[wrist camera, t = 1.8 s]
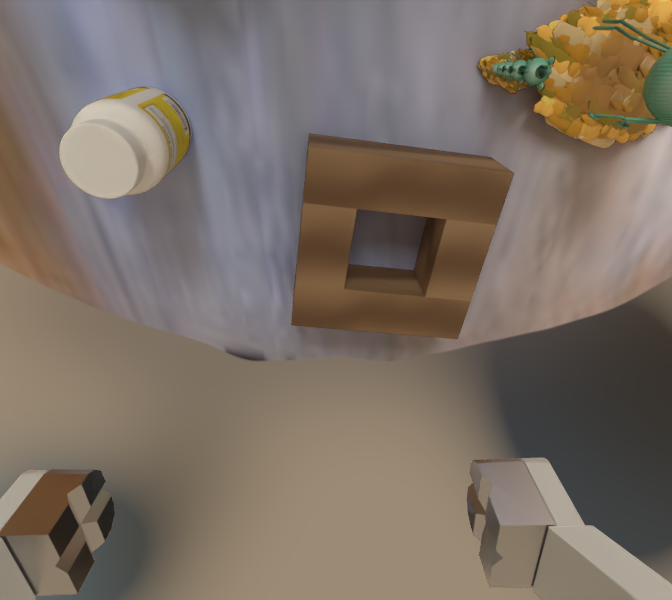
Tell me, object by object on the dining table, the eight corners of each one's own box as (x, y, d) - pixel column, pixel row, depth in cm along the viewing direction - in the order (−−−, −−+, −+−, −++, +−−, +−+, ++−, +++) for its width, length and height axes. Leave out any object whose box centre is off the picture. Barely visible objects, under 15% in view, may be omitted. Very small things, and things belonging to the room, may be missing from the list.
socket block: (309, 133, 32) (308, 146, 28) (491, 157, 34) (514, 173, 30) (293, 296, 39) (291, 325, 35) (443, 310, 41) (457, 339, 37)
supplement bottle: (109, 148, 32) (38, 189, 24) (122, 71, 29) (47, 86, 21) (184, 177, 33) (140, 225, 25) (202, 106, 31) (161, 132, 22)
